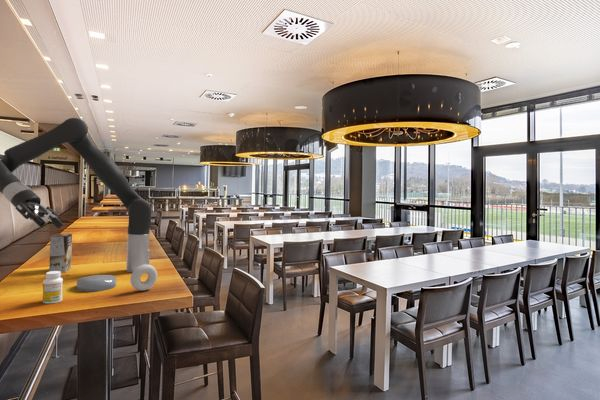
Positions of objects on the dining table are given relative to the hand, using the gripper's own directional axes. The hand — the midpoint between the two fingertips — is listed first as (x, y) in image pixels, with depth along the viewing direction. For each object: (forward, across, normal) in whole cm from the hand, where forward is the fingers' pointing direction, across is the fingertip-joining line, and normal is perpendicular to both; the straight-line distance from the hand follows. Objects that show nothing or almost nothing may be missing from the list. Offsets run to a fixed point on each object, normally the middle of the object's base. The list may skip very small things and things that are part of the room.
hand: (52, 225), depth 123 cm
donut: (+38, +10, -1) cm, 40 cm away
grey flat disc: (+23, +12, +10) cm, 28 cm away
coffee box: (-2, +33, +26) cm, 42 cm away
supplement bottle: (+22, -6, +15) cm, 27 cm away
